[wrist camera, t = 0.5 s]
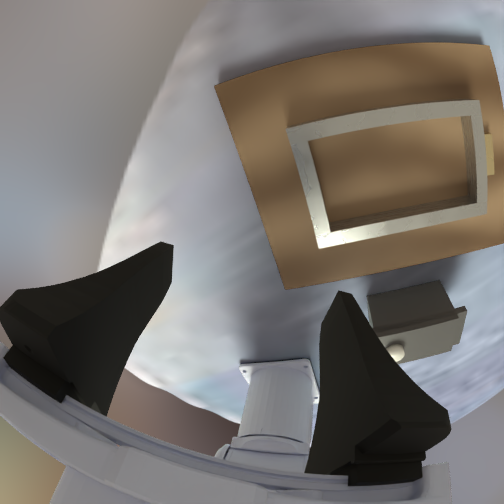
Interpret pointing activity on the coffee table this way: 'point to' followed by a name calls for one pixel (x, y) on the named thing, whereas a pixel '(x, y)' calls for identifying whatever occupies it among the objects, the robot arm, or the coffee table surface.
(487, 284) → the coffee table surface
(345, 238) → the pocket plate
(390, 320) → the servo block
